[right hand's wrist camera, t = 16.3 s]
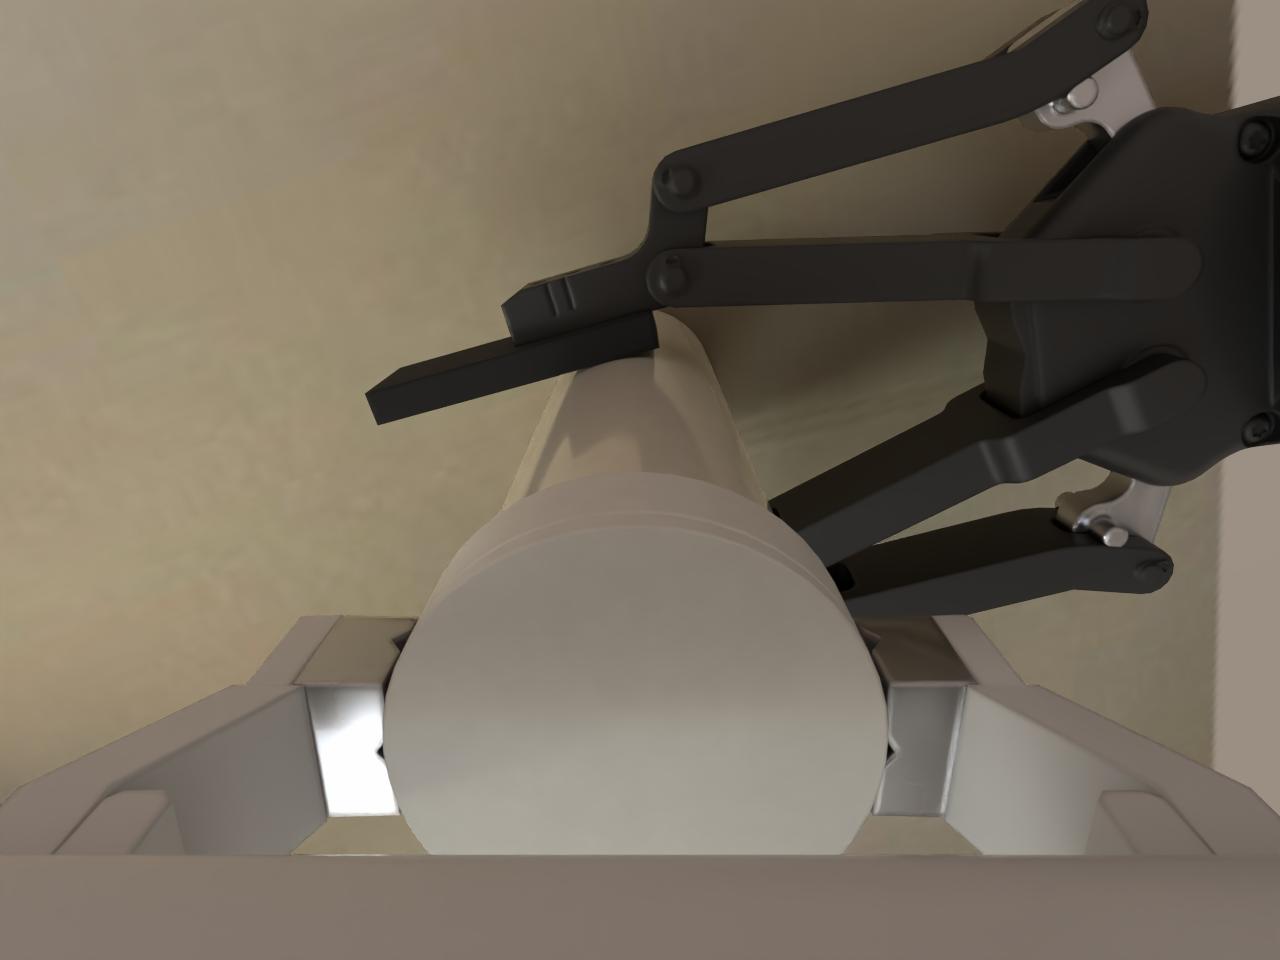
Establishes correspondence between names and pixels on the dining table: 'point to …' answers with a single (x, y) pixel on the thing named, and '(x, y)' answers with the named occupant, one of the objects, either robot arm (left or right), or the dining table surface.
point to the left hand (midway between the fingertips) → (432, 498)
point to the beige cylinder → (640, 422)
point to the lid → (635, 683)
